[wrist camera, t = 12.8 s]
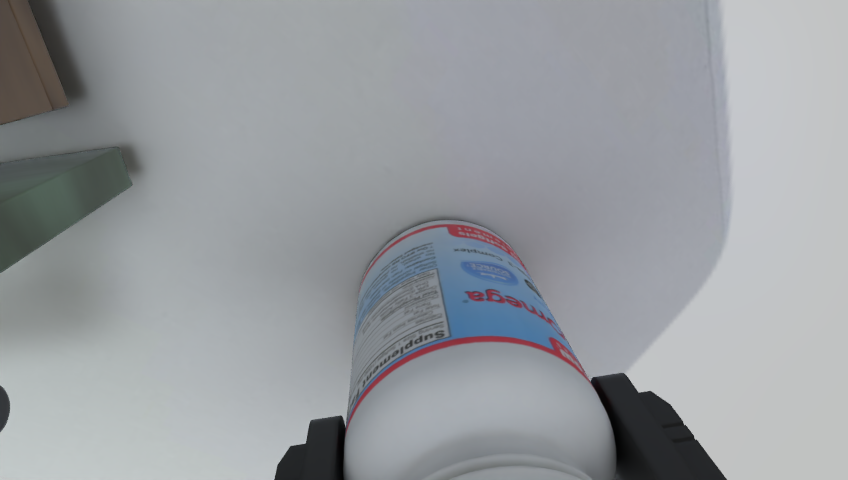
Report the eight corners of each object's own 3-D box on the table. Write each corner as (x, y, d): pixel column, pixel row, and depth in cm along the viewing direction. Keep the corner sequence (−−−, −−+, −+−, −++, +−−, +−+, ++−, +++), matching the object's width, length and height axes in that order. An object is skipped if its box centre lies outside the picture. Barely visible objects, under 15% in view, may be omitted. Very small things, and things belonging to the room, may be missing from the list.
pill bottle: (555, 296, 19) (762, 621, 9) (430, 386, 20) (481, 765, 10) (455, 178, 17) (572, 423, 7) (321, 287, 18) (245, 638, 8)
